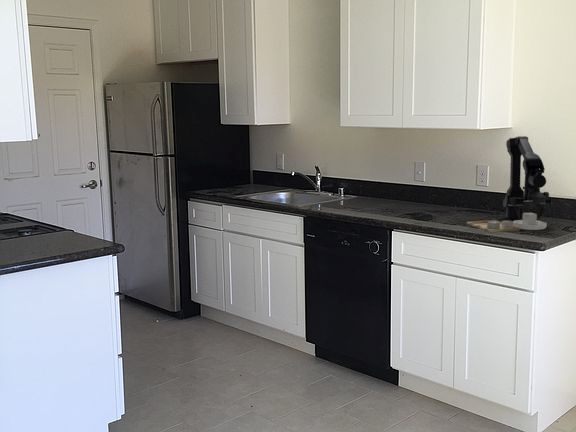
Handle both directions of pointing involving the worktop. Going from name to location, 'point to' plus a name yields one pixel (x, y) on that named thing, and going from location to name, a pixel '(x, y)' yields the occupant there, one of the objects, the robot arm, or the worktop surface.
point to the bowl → (538, 225)
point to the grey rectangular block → (529, 219)
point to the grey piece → (493, 225)
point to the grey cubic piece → (507, 224)
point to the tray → (483, 226)
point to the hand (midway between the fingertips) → (529, 219)
